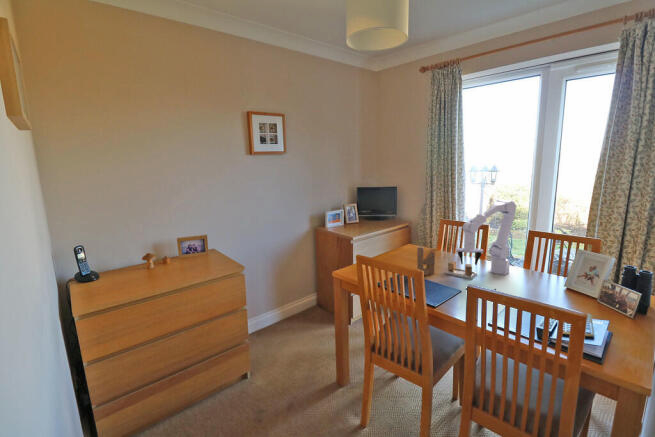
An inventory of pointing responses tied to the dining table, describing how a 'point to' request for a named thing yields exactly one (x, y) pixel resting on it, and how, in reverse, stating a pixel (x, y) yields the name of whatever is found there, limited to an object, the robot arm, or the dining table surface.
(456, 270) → the rail
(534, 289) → the dining table surface
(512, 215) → the robot arm
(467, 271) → the tan cardboard box
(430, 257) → the wooden block
